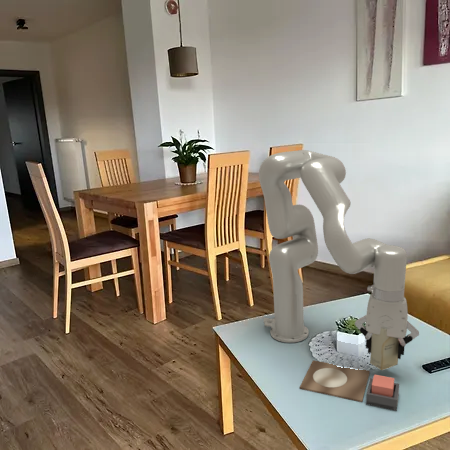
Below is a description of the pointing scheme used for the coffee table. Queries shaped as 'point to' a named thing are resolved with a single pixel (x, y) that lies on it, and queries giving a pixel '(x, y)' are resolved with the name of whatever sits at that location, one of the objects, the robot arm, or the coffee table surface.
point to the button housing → (382, 398)
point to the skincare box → (384, 350)
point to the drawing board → (336, 381)
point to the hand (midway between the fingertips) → (384, 353)
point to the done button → (383, 385)
